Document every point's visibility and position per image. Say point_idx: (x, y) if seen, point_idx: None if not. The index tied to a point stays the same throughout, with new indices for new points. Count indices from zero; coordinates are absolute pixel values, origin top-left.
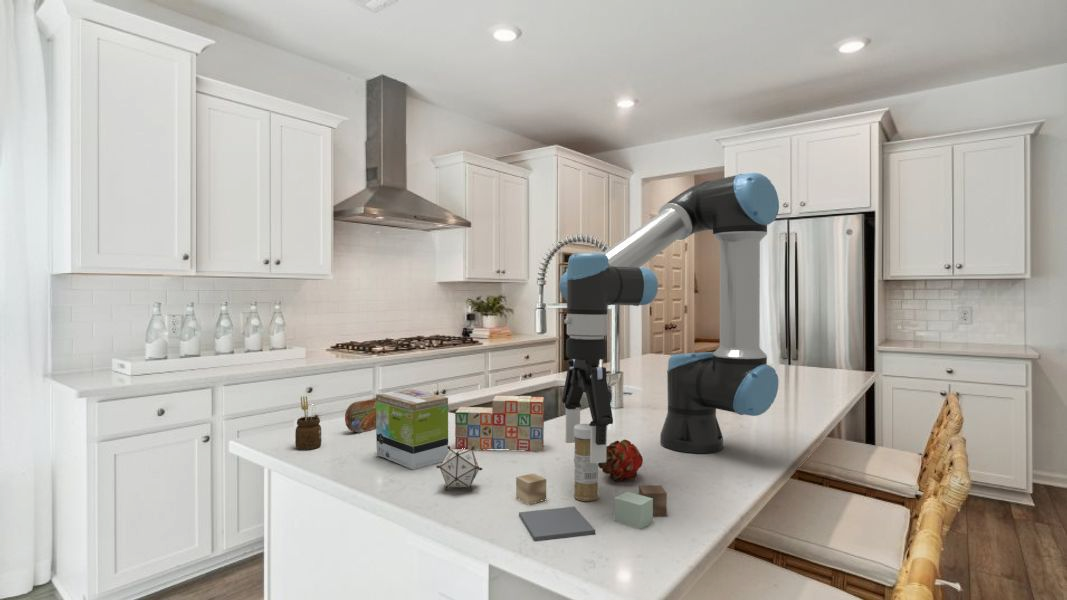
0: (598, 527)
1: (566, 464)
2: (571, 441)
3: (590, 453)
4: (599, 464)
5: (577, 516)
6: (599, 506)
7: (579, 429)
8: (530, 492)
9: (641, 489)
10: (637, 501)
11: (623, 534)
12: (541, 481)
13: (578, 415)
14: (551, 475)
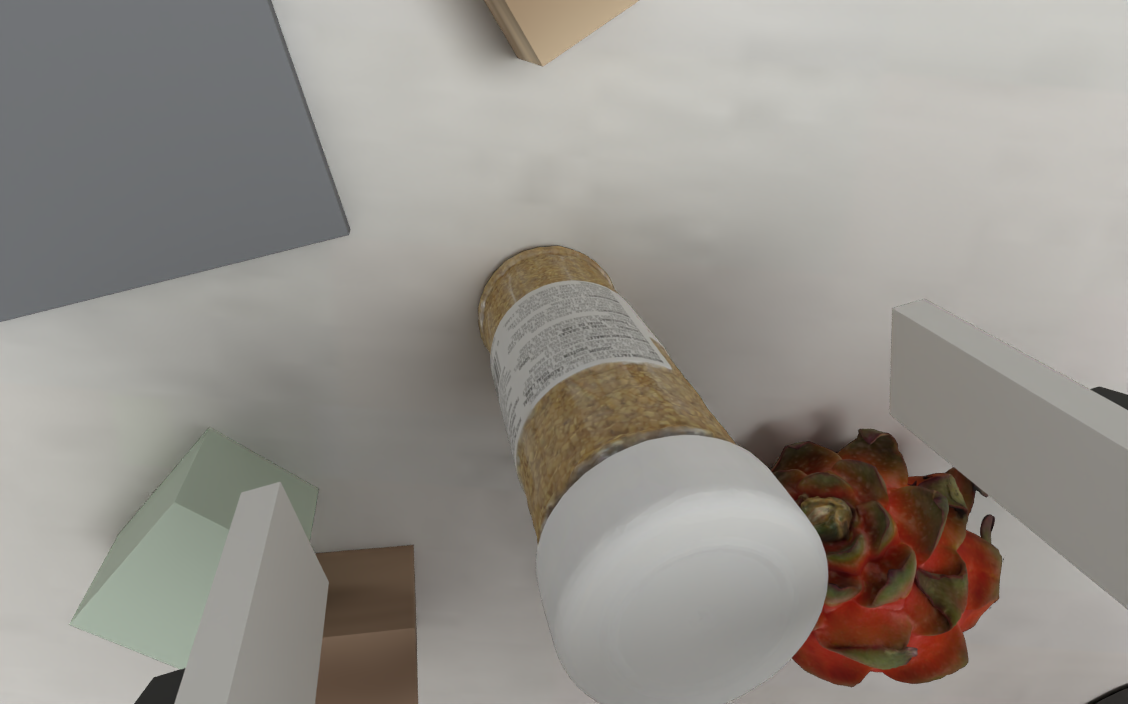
0: (97, 342)
1: (1089, 238)
2: (897, 354)
3: (259, 535)
4: (868, 439)
5: (179, 240)
6: (415, 370)
7: (595, 551)
8: None
9: (343, 636)
10: (134, 611)
11: (25, 456)
12: (514, 20)
13: (1091, 563)
14: (939, 130)
